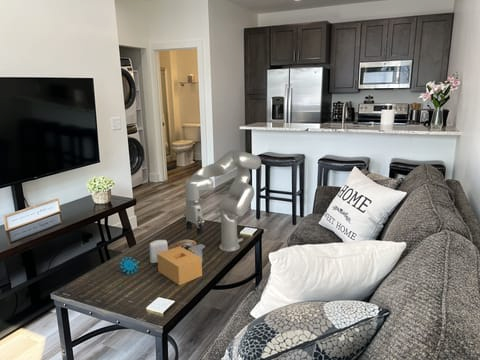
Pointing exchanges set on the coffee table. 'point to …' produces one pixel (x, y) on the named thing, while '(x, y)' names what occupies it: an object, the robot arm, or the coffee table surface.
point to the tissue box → (179, 265)
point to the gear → (129, 265)
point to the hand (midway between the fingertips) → (194, 231)
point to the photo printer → (157, 249)
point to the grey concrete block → (197, 250)
